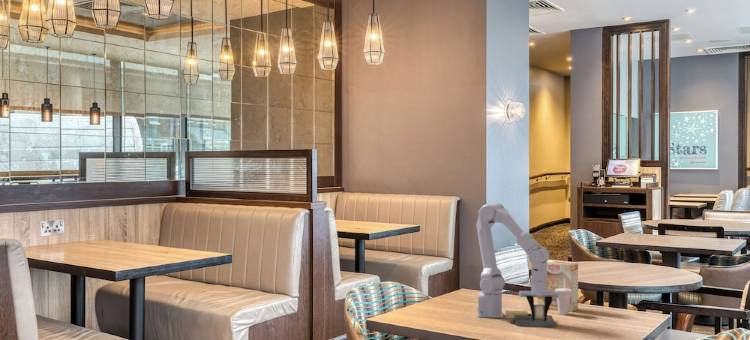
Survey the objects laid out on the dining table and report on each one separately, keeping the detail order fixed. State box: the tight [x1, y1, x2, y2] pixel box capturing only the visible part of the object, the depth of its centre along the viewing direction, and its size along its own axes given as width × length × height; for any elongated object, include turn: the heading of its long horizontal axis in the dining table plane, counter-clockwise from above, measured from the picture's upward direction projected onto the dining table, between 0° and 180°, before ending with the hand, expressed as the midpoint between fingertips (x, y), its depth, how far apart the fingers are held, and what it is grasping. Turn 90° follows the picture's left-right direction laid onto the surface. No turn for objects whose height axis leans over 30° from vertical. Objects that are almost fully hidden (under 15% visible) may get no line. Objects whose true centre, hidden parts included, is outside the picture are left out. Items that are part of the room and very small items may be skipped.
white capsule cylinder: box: [534, 303, 545, 320], centre depth 244 cm, size 4×4×6 cm
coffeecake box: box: [537, 259, 579, 313], centre depth 269 cm, size 15×7×20 cm, turn 49°
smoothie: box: [555, 279, 572, 316], centre depth 259 cm, size 6×6×14 cm
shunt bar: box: [505, 310, 529, 319], centre depth 245 cm, size 8×3×2 cm, turn 81°
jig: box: [513, 312, 555, 328], centre depth 244 cm, size 14×10×3 cm
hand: (539, 316), depth 244 cm, fingers closed on white capsule cylinder, 4 cm apart
